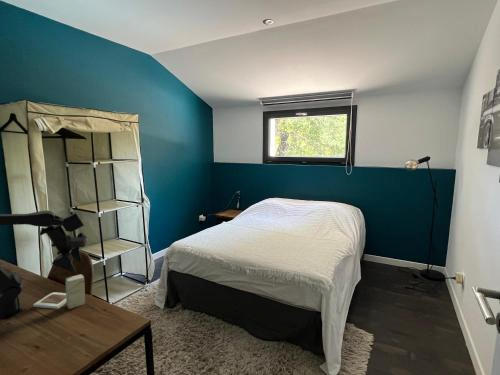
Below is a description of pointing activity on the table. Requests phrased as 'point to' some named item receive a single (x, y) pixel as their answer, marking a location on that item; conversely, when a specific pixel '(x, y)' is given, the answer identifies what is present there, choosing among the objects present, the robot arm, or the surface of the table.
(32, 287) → the table surface
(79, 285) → the skincare box
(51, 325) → the table surface
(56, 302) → the white square tray
